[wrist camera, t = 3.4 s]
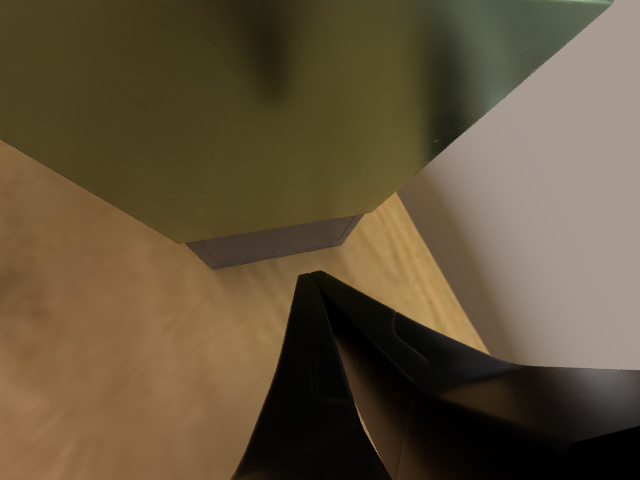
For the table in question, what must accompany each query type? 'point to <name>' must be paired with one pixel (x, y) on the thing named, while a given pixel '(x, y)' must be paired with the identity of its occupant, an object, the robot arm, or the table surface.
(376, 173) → the lid
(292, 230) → the bin
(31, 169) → the table surface
